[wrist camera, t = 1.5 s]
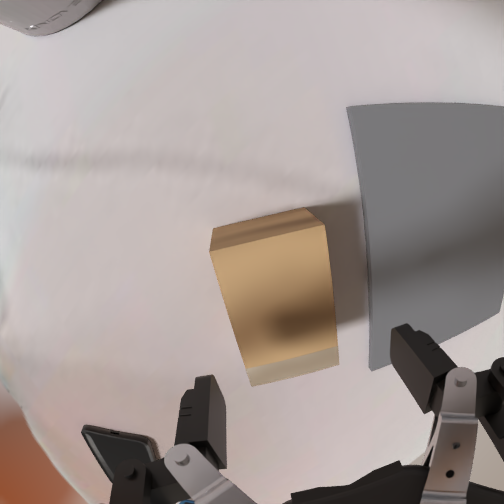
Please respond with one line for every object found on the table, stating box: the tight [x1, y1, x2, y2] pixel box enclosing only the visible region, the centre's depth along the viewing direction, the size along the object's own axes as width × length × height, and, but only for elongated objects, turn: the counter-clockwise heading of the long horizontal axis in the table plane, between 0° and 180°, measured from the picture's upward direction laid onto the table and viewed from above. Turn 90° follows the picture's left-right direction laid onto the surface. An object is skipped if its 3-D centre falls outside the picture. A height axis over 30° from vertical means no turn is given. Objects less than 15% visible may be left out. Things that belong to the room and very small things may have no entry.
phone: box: [81, 425, 156, 483], centre depth 26 cm, size 8×1×15 cm
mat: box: [346, 103, 504, 371], centre depth 19 cm, size 20×16×1 cm
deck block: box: [209, 207, 339, 387], centre depth 17 cm, size 9×6×4 cm, turn 13°
